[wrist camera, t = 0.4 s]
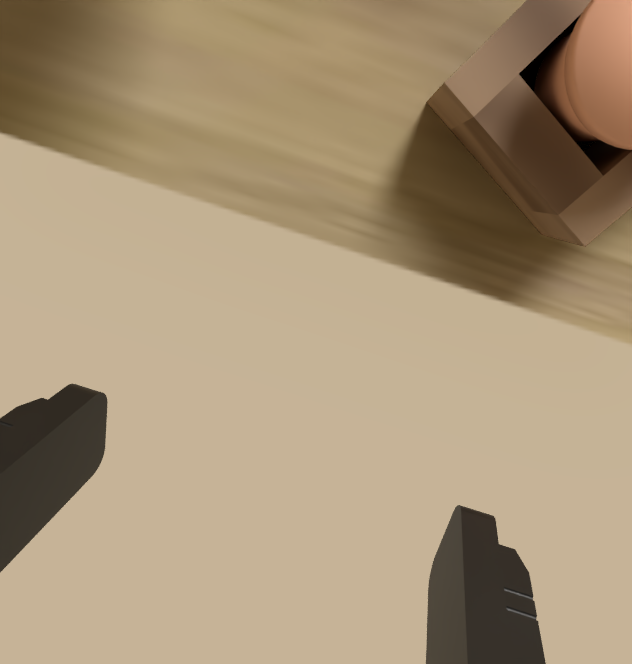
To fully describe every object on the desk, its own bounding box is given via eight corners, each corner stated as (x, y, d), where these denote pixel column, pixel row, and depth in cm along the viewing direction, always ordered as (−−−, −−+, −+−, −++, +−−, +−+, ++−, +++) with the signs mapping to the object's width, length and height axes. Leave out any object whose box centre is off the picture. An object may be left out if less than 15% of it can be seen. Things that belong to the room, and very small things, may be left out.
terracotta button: (604, -24, 25) (696, -99, 18) (688, 86, 26) (806, 52, 19) (491, 85, 27) (538, 52, 20) (575, 185, 28) (648, 185, 21)
